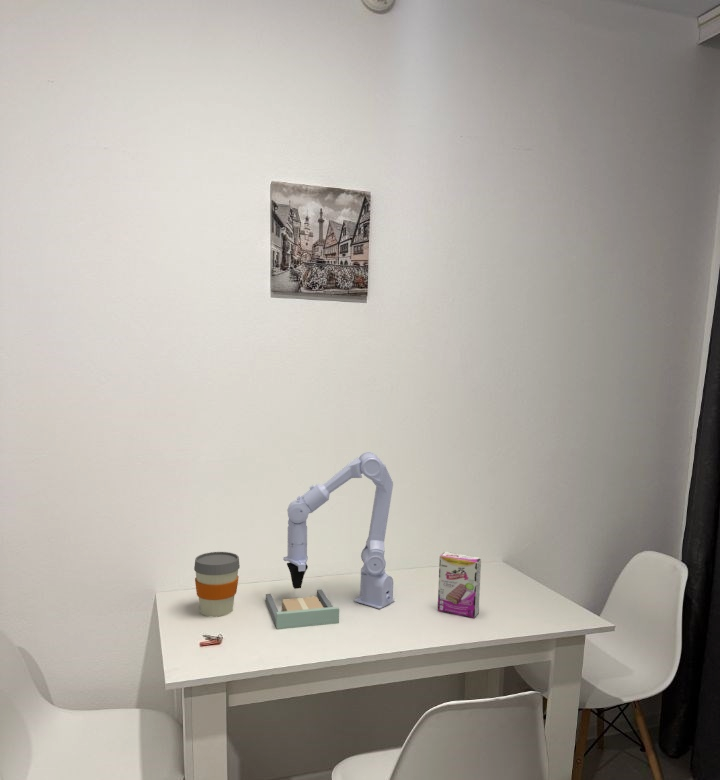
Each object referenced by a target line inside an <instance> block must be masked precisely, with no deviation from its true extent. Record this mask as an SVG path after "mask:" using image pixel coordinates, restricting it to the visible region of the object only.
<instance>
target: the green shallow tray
mask: <svg viewBox="0 0 720 780" xmlns="http://www.w3.org/2000/svg"><path fill="white" fill-rule="evenodd" d="M316 596H317V598H318V600H320V603H321V604H322V606H323V608H316V609H305V610H295V611H284V612H282V611H279V610H278V607H277V605H276V602H275V600H274V598H273V596H272V593H265V603H266V606H267V608H268V611H269V614H270V616H271V618H272V620H273V623H274V626H275V627H276V630H283V629H284V630H285V629H291V628H292V629H293V628H302V627H311V626H312V627H313V626H321V625H322V626H323V625H331V624H340V608H339V606H334V605H333V604H332V602H331V601H330V600H329V598H328V597H327V595H326V593H325V592H324V590H323V589H316Z"/></svg>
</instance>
